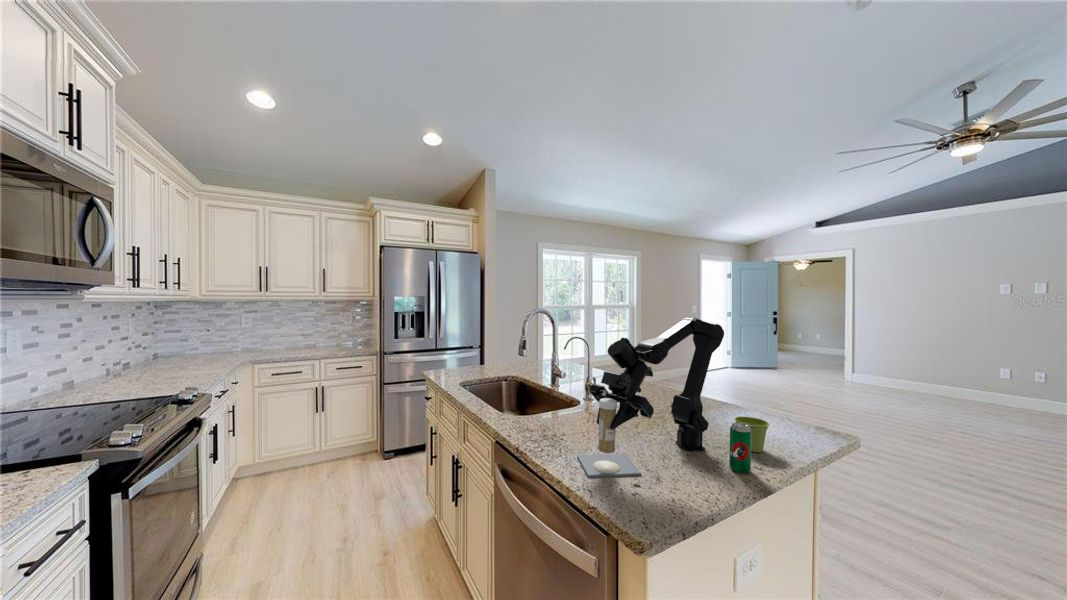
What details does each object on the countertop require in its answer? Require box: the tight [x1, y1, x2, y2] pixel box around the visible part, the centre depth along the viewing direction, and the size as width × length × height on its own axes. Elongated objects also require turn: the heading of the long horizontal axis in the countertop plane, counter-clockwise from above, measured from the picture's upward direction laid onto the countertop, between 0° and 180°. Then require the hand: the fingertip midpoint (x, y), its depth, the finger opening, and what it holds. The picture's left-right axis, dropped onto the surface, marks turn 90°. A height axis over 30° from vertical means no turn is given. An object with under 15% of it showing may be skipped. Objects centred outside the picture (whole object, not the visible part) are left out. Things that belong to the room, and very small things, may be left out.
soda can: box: [728, 422, 752, 474], centre depth 99 cm, size 5×5×12 cm
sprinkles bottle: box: [597, 398, 618, 454], centre depth 98 cm, size 5×5×14 cm
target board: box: [576, 453, 642, 478], centre depth 100 cm, size 14×12×1 cm
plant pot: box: [733, 415, 770, 453], centre depth 114 cm, size 9×9×9 cm
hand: (604, 426), depth 97 cm, fingers closed on sprinkles bottle, 4 cm apart
